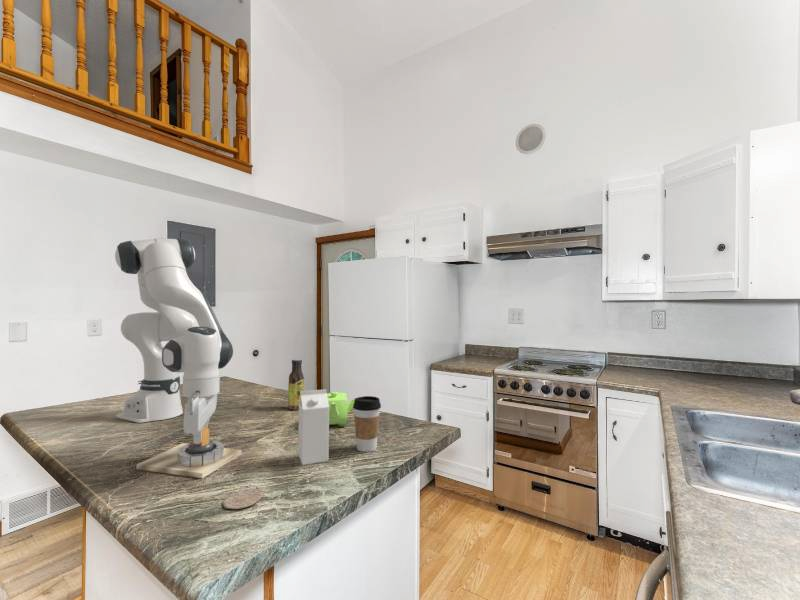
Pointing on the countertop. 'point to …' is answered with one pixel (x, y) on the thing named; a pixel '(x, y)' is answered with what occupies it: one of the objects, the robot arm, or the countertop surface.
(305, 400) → the milk carton
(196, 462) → the faceted grey ring
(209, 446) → the orange dark-based block
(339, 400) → the kettle
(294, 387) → the sauce bottle
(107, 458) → the countertop surface
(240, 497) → the flatbread
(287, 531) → the countertop surface
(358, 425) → the coffee cup
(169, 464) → the board
